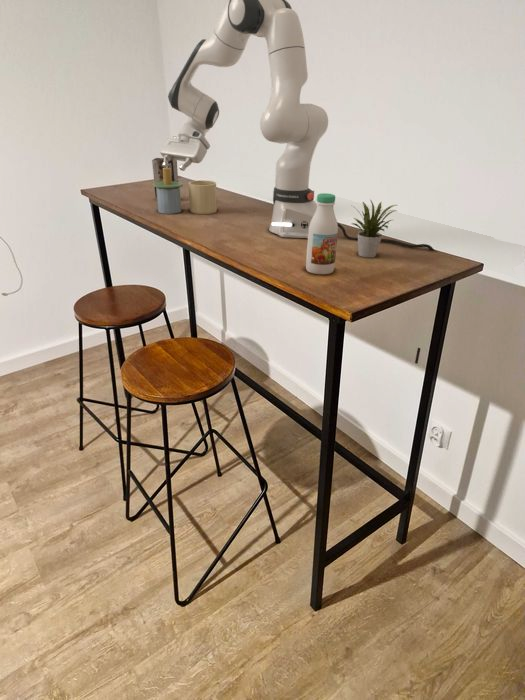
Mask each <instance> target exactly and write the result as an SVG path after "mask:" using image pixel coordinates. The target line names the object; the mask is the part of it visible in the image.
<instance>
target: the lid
mask: <svg viewBox="0 0 525 700" xmlns="http://www.w3.org/2000/svg"><path fill="white" fill-rule="evenodd" d="M163 179H164V181H160V182H155V183H154V182H153V183H152V187H154V188H155V187H157V188H161V189H175V188H178V187H180V188H182V187H184V183H183V182H181V181H178V182H176V181H172V178H171V168H163Z"/></svg>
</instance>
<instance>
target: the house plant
mask: <svg viewBox="0 0 525 700" xmlns="http://www.w3.org/2000/svg"><path fill="white" fill-rule="evenodd" d="M369 200H370V203H371V209H370V208H369V207H368V206H367V204H366V203H365V202H364V201H362V205H363V210H364V211H361V212H362V214H361V212H360V211H359V210H358V209H357V208H356V207H355V206H353V205H352V207H353V208H354V209H355V210H357V212H358V213H359V215H360V216H361V218H362V220H363V222H362V221H361V220H359V219H358V218H357V217H353V219H354V220H355V221H356V223H353V222H352V223H351V225H353V226H356V227H358V228H359V229H360V231H359V232H358V233H357V238H358V240H357V252H358V253H357V255H358V256H359V257H362V258H368V259H369V258H375V257H377V254H378V250H379V247H380V244H381V239H383V238H382V237H383V234H382V233H379V232H380V231H383V232H384V233H385V228H386V229H389V226H388V225H389V224H390V223H389V222H391V221H393V219H389V220H387V221H385V219H386V218H387V217H388V216H390V215H391V214H392V213H394V212H398V210H396V209H391V208H393V207H396V206H397V204H392V205H390V206H387V208H385V209H384V210H383V209H382V201H380V202H379V203H378V205H377V207H376V209H375V205H374V203H373V201H372V199H369ZM370 210H371V214H370ZM387 224H388V225H387Z"/></svg>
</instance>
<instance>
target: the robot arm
mask: <svg viewBox="0 0 525 700" xmlns="http://www.w3.org/2000/svg"><path fill="white" fill-rule="evenodd" d="M251 36H255V37H257V38H264V39H265V41H266V45H267V47H266V48H267V54H268V63H269V64H268V65H269V72H270V73H269V74H270V80H271V81H270V85H271V86H270V87H271V88H270V95H269V100H268V103H267V106H266V108H265V109H264V110H263V112H262V114H261V116H260V120H259V127H260V133H261V134H262V136H263V138H264V139H265V140H266V141H268V142H271V143H275V144H281V145H282V144H286V146H285V148H284V151H283V153H282V155H280V157H279V158H278V159H277V161H276V162H275V163H276V164H275V177H274V178H275V179H274V184H275V185H274V187H273V191H272V202H273V209H272V216H271V221H270V223H269V227H268V230H269V232H270V233H273V234H276V235H278V236H279V237H280V238H288V239H289V238H294V239H308V233H309V226H310V222H311V220H312V218H313V216H314V214H315V212H316V209H317V202H316V201H314V199H315V190H314V189H313V190H312V189H311V188H309V184H310V176H311V175H310V174H311V166H312V165H311V164H312V160H313V156H314V154H315V150H316V149H317V146H318V143H319V141H320V140H321V139H322V137H323V136H324V135H325V134H326V132H327V130H328V127H329V116H328V113H327V111H326V110H325V109H324V108H323V107H321V106H319V105H317V104H313V103H301V91H302V88H303V87H304V86H305V84H307V81H308V78H309V74H308V64H307V55H306V53H307V52H306V45H305V40H304V39H305V38H304V34H303V28H302V24H301V22H300V18H299V15H298V13H297V12H296V11H295V10H294V9H293V8H292V6H291V4H290V3H289V2H288V1H287V0H228V1H227V3H226V5H225V6H224V8H223V9H222V11H221V13H220V16H219V17H218V19H217V21H216V23H215V26H214V29H213V31H212V33H211V35H210V36H209V37H208V38H207V39H205V38H204V39H203V38H202V39H201V40H200V41H199V42H198V43H197V44H196V46H195V47H194V49H193V50H192V52H191V53H190V55H189V57H188V59H187V61H186V63H185V64H184V66H183V68H182V69H181V71H180V73H179V75H178V77H177V78H176V80H175V82H174V83H173V84H172V85H171V87H170V89H169V91H168V94H167V98H168V102H169V104H170V107H171V109H174V110H176V111H178V112H180V113H182V114H184V115H185V116H186V117H188V118H187V121H186V122H184V124H183V126H182V127H181V128H180V131H179V132H178V134H177V136H175V135H174V136H172V137H169V138H168V139H167V140H166V141H165V142H164V144H163V145H162V146H161V147H160V149H159V154H160V155H161V156H162V158H164V162H163V164H162V166H163V167H164V168H168V166H169V164H168V161H170V159H173V160H177V161H180V162H183V163H180V165H179V167H178V169H179V170H180V171H183V172H185V171H186V169H187V168H188V167H189V166H191V165H192V163H194V164H200V163H201V162H203V160H204V158H205V157H206V154H207V152H208V150H209V149H210V147H211V145H210V143H209V141H208V140H207V138H206V134H207V133H208V132H209V131H210V129H212V128H213V127H214V125H215V124H216V122H217V121H218V118H219V116H220V108H219V104H218V102H217V101H216V100H215V99H214V98H213V97H211V96H209V95H208V94H206V93H204V92H203V91H201V90H200V89H198V88H196V87H195V86H194V85H193V84H192V82H191V81H192V80H193V78H194V77H195V75H196V73H197V71H198V69H199V68H200V66H202V65H209V66H213V67H218V68H229V67H233V66H234V65H236V64H237V63H238V62H239V61H240V59H241V58H242V56H243V54H244V51H245V49H246V47H247V44H248V42H249V39H250V37H251ZM337 224H338V228H339V229H340V230H341V232H342V235H343V236H344V237H345V238H346V239H347V240H350V241H358V237H353V236H350V235H348V234H347V231H346V229H345V227H344V226H343V225H342V224H340V223H339V222H337ZM381 242H384V243H391V244H396V245H400V246H404V247H407V248H414V249H416V248H427V249H428V250H430V252H435V249H434V247H432V246H431V245H430V244H427V243H420V244H412V243H406V242H403V241H399V240H396V239H390V238H381V241H380V243H381ZM420 354H421V347H417V350H416V355H415V360H414V364H416V365H417V364H419V358H420Z"/></svg>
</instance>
